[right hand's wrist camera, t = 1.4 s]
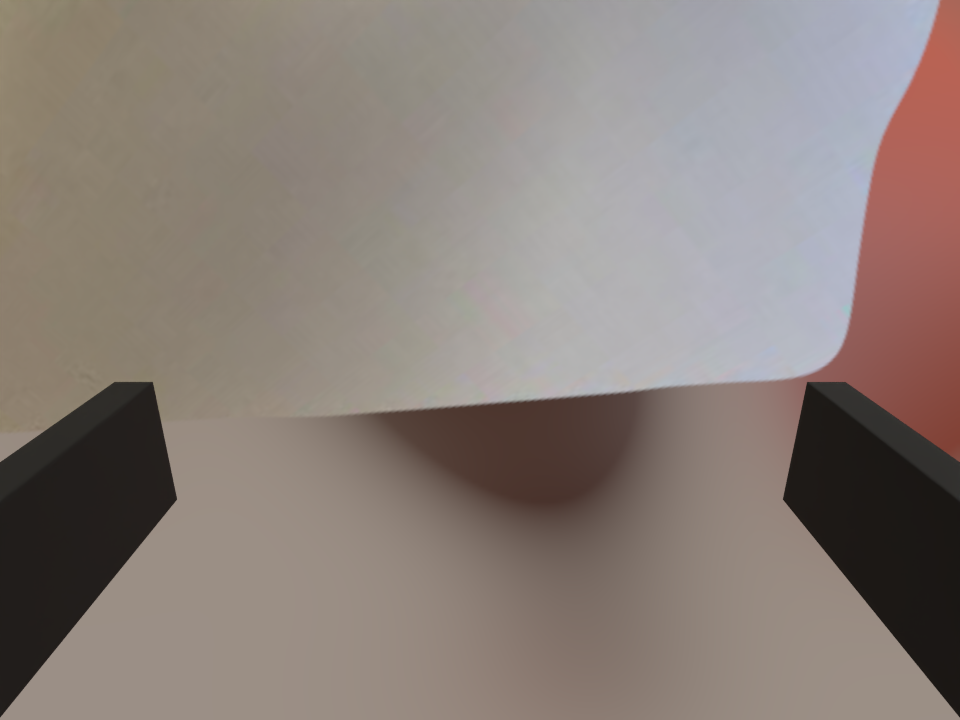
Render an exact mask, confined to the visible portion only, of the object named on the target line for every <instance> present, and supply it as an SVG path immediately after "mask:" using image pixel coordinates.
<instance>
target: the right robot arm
mask: <svg viewBox="0 0 960 720" xmlns="http://www.w3.org/2000/svg"><path fill="white" fill-rule="evenodd" d="M176 500H177V497H176V492H175V487H174V483H173V478H172V473H171V468H170V463H169V458H168V453H167V449H166V444H165V439H164V434H163V429H162V424H161V420H160V415H159V410H158V405H157V400H156V395H155V391H154V386H153V382H114V383H113V384H111V385H110V386H108V387H107V388H106V389H104V390H103V391H101V392H100V393H98V394H97V395H96V396H94V397H93V398H91V399H90V400H88V401H87V402H86V403H84V404H83V405H81V406H80V407H78V408H77V409H76V410H74V411H73V412H71V413H70V414H68V415H67V416H66V417H64V418H63V419H61V420H60V421H58V422H57V423H56V424H54V425H53V426H51V427H50V428H48V429H47V430H46V431H44V432H43V433H41V434H40V435H39V436H37V437H36V438H34V439H33V440H31V441H30V442H29V443H27V444H26V445H24V446H23V447H21V448H20V449H19V450H17V451H16V452H14V453H13V454H11V455H10V456H9V457H7V458H6V459H4V460H3V461H1V462H0V717H1V716H2V715H3V713H4V712H5V711H6V710H7V708H8V707H9V706H10V705H11V703H12V702H13V701H14V700H15V698H16V697H17V696H18V695H19V694H20V692H21V691H22V690H23V689H24V687H25V686H26V685H27V684H28V682H29V681H30V680H31V679H32V678H33V676H34V675H35V674H36V673H37V671H38V670H39V669H40V668H41V666H42V665H43V664H44V663H45V661H46V660H47V659H48V658H49V657H50V655H51V654H52V653H53V652H54V650H55V649H56V648H57V647H58V646H59V644H60V643H61V642H62V641H63V639H64V638H65V637H66V636H67V634H68V633H69V632H70V631H71V629H72V628H73V627H74V626H75V625H76V623H77V622H78V621H79V620H80V618H81V617H82V616H83V615H84V613H85V612H86V611H87V610H88V609H89V607H90V606H91V605H92V603H93V602H94V601H95V600H96V599H97V597H98V596H99V595H100V594H101V593H102V591H103V590H104V589H105V588H106V586H107V585H108V584H109V583H110V581H111V580H112V579H113V578H114V576H115V575H116V574H117V573H118V572H119V570H120V569H121V568H122V567H123V565H124V564H125V563H126V562H127V560H128V559H129V558H130V557H131V556H132V554H133V553H134V552H135V551H136V549H137V548H138V547H139V546H140V544H141V543H142V542H143V541H144V540H145V538H146V537H147V536H148V535H149V533H150V532H151V531H152V530H153V528H154V527H155V526H156V525H157V523H158V522H159V521H160V520H161V519H162V517H163V516H164V515H165V514H166V512H167V511H168V510H169V509H170V507H171V506H172V505H173V504H174V503H175V501H176ZM783 500H784V501H785V503H786V504H787V505H788V506H789V507H790V509H791V510H792V511H793V512H794V514H795V515H796V516H797V517H798V519H799V520H800V521H801V522H802V523H803V525H804V526H805V527H806V528H807V530H808V531H809V532H810V533H811V535H812V536H813V537H814V538H815V540H816V541H817V542H818V543H819V544H820V546H821V547H822V548H823V549H824V551H825V552H826V553H827V554H828V556H829V557H830V558H831V559H832V560H833V562H834V563H835V564H836V565H837V567H838V568H839V569H840V570H841V572H842V573H843V574H844V575H845V576H846V578H847V579H848V580H849V581H850V583H851V584H852V585H853V586H854V588H855V589H856V590H857V591H858V592H859V594H860V595H861V596H862V597H863V599H864V600H865V601H866V602H867V604H868V605H869V606H870V607H871V609H872V610H873V611H874V612H875V613H876V615H877V616H878V617H879V618H880V620H881V621H882V622H883V623H884V625H885V626H886V627H887V628H888V629H889V631H890V632H891V633H892V634H893V636H894V637H895V638H896V639H897V641H898V642H899V643H900V644H901V646H902V647H903V648H904V649H905V650H906V652H907V653H908V654H909V655H910V657H911V658H912V659H913V660H914V661H915V663H916V664H917V665H918V666H919V668H920V669H921V670H922V671H923V673H924V674H925V675H926V676H927V678H928V679H929V680H930V681H931V682H932V684H933V685H934V686H935V687H936V689H937V690H938V691H939V692H940V694H941V695H942V696H943V697H944V699H945V700H946V701H947V702H948V703H949V705H950V706H951V707H952V708H953V710H954V711H955V712H956V713H957V714H958V716H959V717H960V462H958V461H957V460H956V459H954V458H953V457H951V456H950V455H949V454H947V453H946V452H944V451H943V450H941V449H940V448H939V447H937V446H936V445H934V444H933V443H931V442H930V441H929V440H927V439H926V438H924V437H923V436H921V435H920V434H919V433H917V432H916V431H914V430H913V429H912V428H910V427H909V426H907V425H906V424H904V423H903V422H902V421H900V420H899V419H897V418H896V417H894V416H893V415H892V414H890V413H889V412H887V411H886V410H884V409H883V408H881V407H880V406H879V405H877V404H876V403H874V402H873V401H872V400H870V399H869V398H867V397H866V396H864V395H863V394H862V393H860V392H859V391H857V390H856V389H854V388H853V387H852V386H850V385H849V384H847V383H846V382H807V386H806V391H805V395H804V400H803V405H802V410H801V415H800V420H799V424H798V429H797V434H796V439H795V444H794V449H793V453H792V458H791V463H790V468H789V473H788V478H787V482H786V487H785V492H784V497H783Z"/></svg>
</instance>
